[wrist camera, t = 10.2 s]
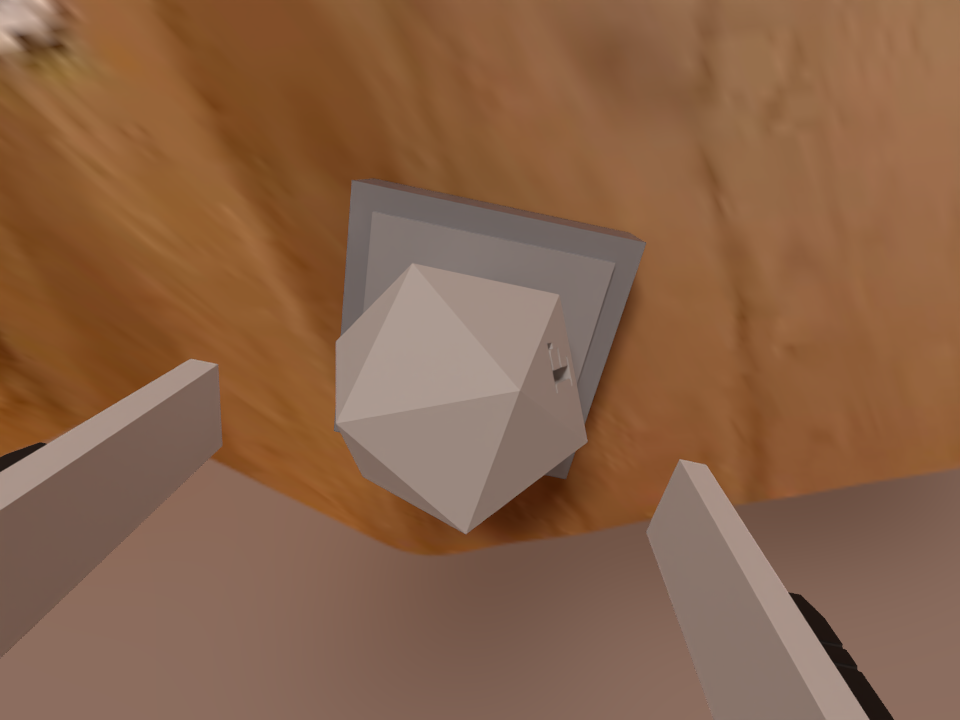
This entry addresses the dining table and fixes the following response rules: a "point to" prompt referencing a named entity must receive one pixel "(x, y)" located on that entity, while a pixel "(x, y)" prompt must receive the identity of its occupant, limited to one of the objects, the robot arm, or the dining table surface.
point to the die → (458, 392)
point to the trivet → (494, 262)
